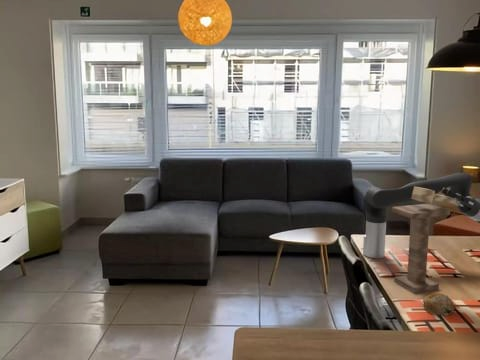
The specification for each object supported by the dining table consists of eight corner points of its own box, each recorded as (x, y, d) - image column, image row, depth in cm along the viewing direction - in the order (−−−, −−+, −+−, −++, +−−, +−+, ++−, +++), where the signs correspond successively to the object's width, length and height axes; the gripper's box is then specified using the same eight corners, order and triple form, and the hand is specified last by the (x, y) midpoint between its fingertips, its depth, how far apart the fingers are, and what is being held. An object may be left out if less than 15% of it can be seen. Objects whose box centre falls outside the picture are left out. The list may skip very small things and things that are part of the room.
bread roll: (434, 326, 165) (444, 310, 161) (414, 304, 173) (423, 288, 168) (453, 319, 170) (463, 304, 166) (433, 298, 177) (442, 283, 173)
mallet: (419, 201, 182) (422, 188, 182) (411, 198, 187) (414, 186, 186) (466, 209, 191) (469, 197, 190) (457, 206, 195) (460, 195, 195)
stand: (407, 293, 183) (411, 213, 178) (388, 282, 194) (392, 206, 189) (444, 287, 189) (450, 210, 183) (424, 277, 200) (429, 203, 195)
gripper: (464, 197, 201) (437, 179, 195) (491, 204, 188) (462, 185, 182) (456, 213, 201) (428, 195, 195) (482, 221, 188) (453, 202, 182)
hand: (445, 190), depth 189 cm, fingers closed on mallet, 2 cm apart
